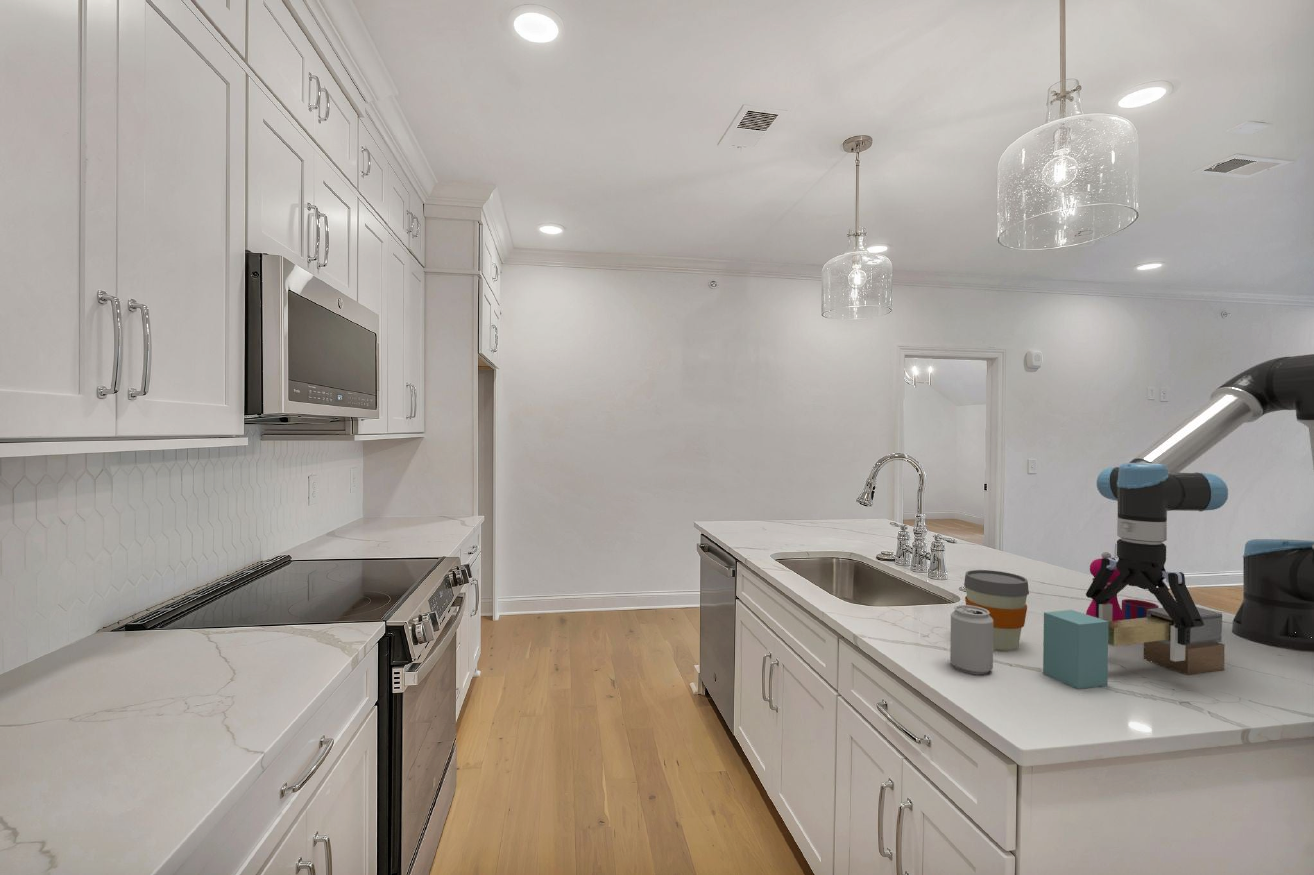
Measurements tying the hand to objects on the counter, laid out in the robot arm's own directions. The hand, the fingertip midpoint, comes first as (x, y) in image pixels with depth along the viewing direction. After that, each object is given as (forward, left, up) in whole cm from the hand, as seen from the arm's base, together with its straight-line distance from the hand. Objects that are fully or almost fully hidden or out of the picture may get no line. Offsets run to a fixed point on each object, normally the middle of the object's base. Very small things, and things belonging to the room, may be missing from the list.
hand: (1139, 647), depth 113 cm
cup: (-24, -15, -5) cm, 29 cm away
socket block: (+16, 0, -5) cm, 17 cm away
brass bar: (-5, 0, +2) cm, 5 cm away
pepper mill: (-11, -15, -5) cm, 19 cm away
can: (+32, -9, -5) cm, 34 cm away
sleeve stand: (-12, 0, -5) cm, 13 cm away
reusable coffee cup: (+16, -19, -5) cm, 25 cm away
